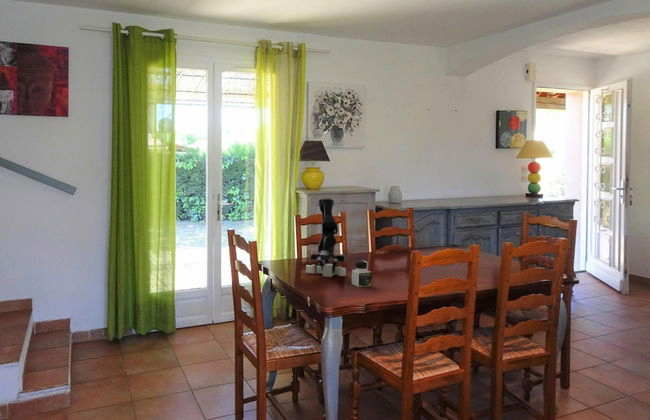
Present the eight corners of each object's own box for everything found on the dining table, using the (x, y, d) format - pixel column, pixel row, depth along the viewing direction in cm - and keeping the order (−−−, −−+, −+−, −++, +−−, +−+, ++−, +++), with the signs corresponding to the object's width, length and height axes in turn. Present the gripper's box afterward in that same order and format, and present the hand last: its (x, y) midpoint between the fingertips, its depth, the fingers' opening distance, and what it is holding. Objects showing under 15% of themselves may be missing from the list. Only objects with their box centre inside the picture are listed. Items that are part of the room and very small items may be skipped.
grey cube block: (325, 274, 289) (325, 263, 288) (333, 274, 288) (334, 264, 287) (322, 276, 283) (322, 265, 283) (331, 276, 282) (331, 266, 282)
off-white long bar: (307, 272, 294) (307, 264, 293) (345, 275, 287) (345, 267, 286) (305, 272, 292) (305, 264, 291) (344, 276, 285) (344, 267, 285)
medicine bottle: (358, 287, 261) (359, 263, 260) (351, 284, 267) (351, 260, 266) (371, 285, 264) (371, 261, 263) (363, 282, 271) (364, 259, 270)
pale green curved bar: (316, 273, 289) (316, 266, 289) (317, 272, 291) (317, 266, 291) (337, 274, 286) (337, 268, 286) (338, 274, 288) (338, 267, 288)
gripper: (307, 245, 279) (306, 274, 281) (341, 247, 274) (341, 277, 275) (314, 242, 290) (313, 270, 291) (347, 244, 284) (346, 273, 286)
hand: (328, 273), depth 286 cm, fingers closed on grey cube block, 5 cm apart
